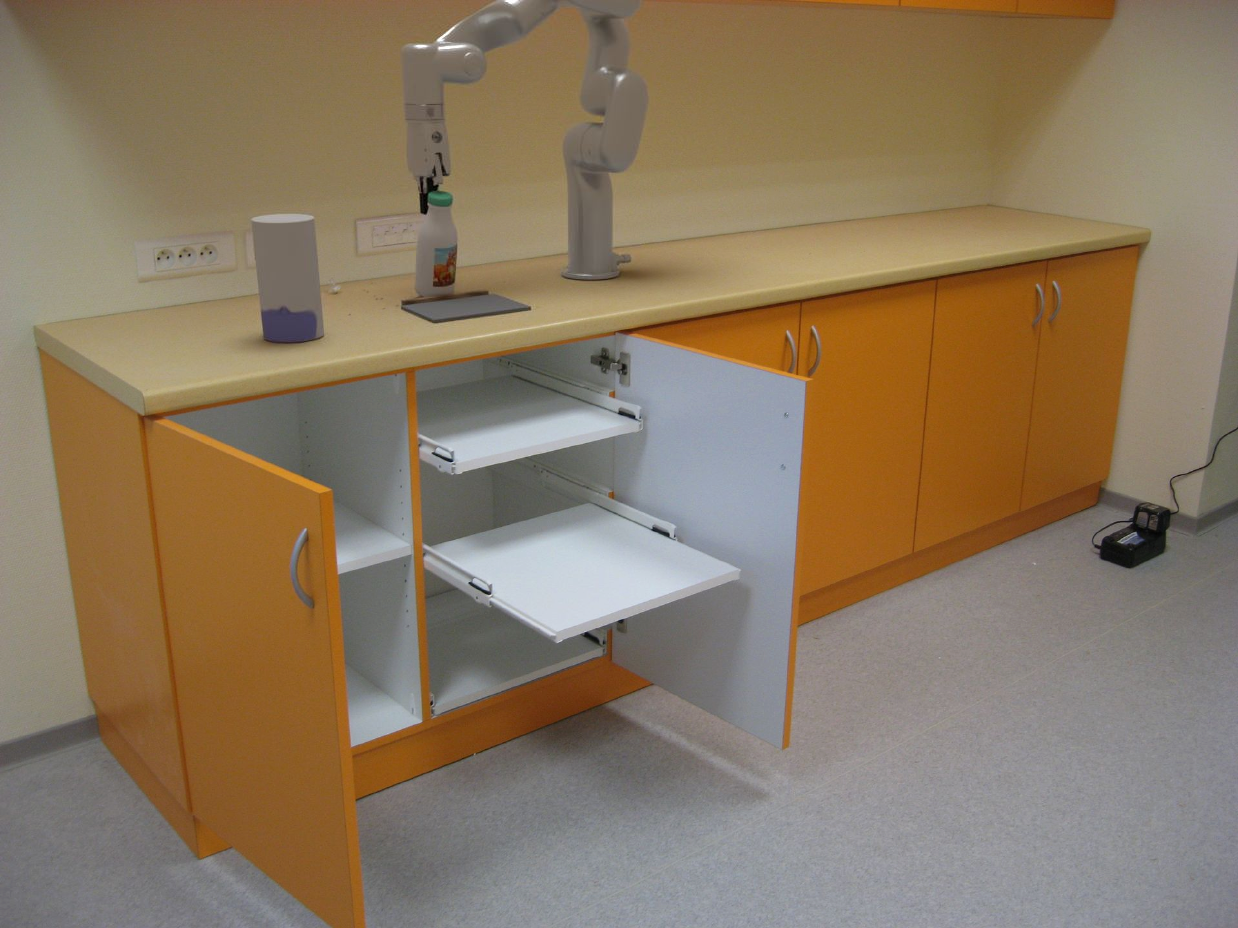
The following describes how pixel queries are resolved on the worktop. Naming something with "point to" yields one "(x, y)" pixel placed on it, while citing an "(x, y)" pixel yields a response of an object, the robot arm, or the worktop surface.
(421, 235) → the milk bottle
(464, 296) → the rail
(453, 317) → the mat
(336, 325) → the worktop surface
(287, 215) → the container
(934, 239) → the worktop surface
